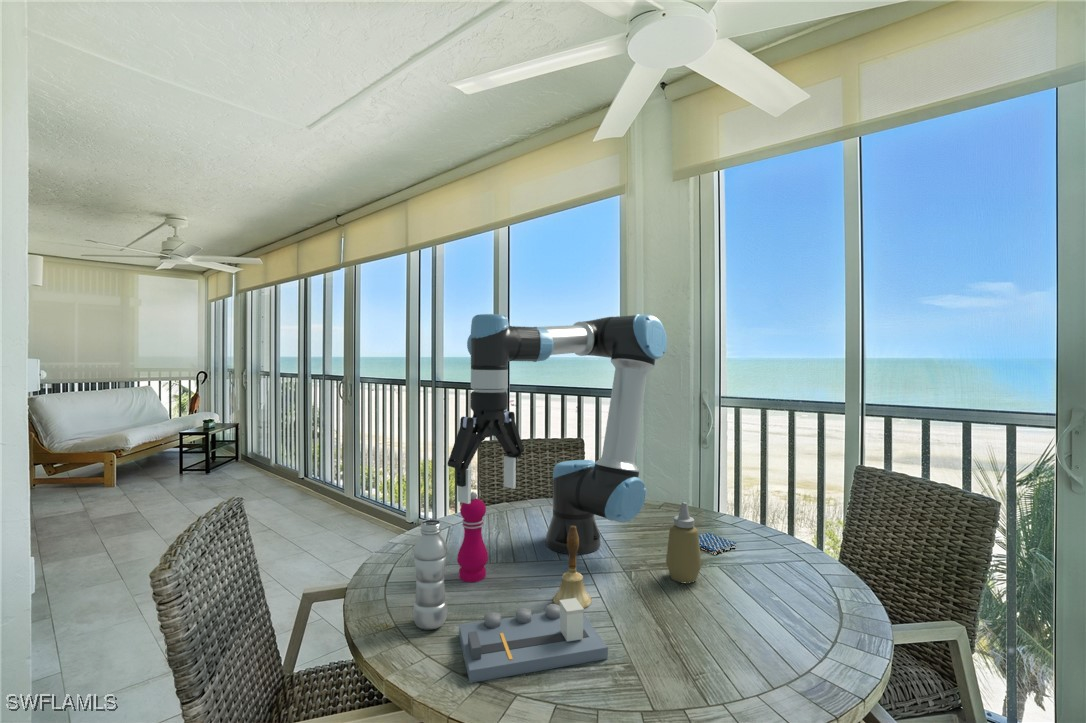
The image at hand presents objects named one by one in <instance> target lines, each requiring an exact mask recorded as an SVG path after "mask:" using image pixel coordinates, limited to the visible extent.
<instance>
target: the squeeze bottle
mask: <svg viewBox="0 0 1086 723" xmlns="http://www.w3.org/2000/svg"><path fill="white" fill-rule="evenodd" d="M689 512H690V511H689V506H688V502H685V501H684V502H681V505H680V509H679V513H678V515H675V516H674V518H673V525H671V526H670V527H669V533H668V539H667V540H668V541H667V542H668V543H667V550H666V557H665V559H666V560H665V562H666V566H667V569H668V572H669V576H670V578H671V579H672V580H673V579H674V580H673V581H675V580H676V581H675V582H677V581H678V582H677V583H680V582H686V583H685V584H690V583H689V582H693V581H695V580H696V581H697V578H698V577H699V574H700V571H701V568H702V560H701V559H702V558H701V549H700V545H699V535H700V534H699V530H698V529H697V527H695V519H694V518H693V517H692V516H690V513H689ZM696 581H695V582H696ZM693 583H694V582H693Z"/></svg>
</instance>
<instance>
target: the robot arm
mask: <svg viewBox="0 0 1086 723" xmlns="http://www.w3.org/2000/svg"><path fill="white" fill-rule="evenodd" d="M667 345H668V338H667V333H666V329H665V328H664V325H663V323H662V322H661V320H660V319H659V318H658V317H656V316H655V315H652V314H641V313H640V314H636V315H634V314H633V315H622V316H619V315H617V316H607V317H600V318H596V319H592V320H585V321H584V320H583V321H577V322H575V323H574V324H571V325H551V326H547V325H546V326H517V325H516V326H514V325H513V326H512V325H510V324H509V319H508V317H507V316H506V315H504V314H497V313H496V314H493V313H485V314H484V313H482V314H476V315H474V316H473V317H472V319H471V325H470V334H469V336H468V338H467V341H466V346H467V347H466V348H467V351H468V353H469V355H470V388H471V389H472V391H471V392H470V396H469V397H470V399H469V400H470V402H469V403H470V404H469V406H470V410H472V412H473V414H472V416H471V417H470V416H461V418H460V421H459V429H458V433H457V435H456V437H455V441H454V443H453V446H452V448H451V452H450V456H449V457H448V461H447V466H448V467H450V468H452V469H453V468H454V469H455V483H456V486H457V502H459V503H461V504H463V503H466V504H469V503H471V493H472V490H471V489H472V486H471V485H472V469H471V468H469V466H470V464H471V462H472V461H473V459H474V456H475V454H476V453H477V451H478V449H479V447H480V445H481V444H482V442H483V441H485V439H487V438H491V437H495V438H496V439H497V441H498V442H499V445H500V446H501V447H502V450H503V451H504V452H505V454H506V456H503V488H508V489H512V490H514V489H516V485H517V484H516V483H517V482H516V481H517V477H516V476H517V475H516V474H517V469H518V466H517V465H518V464H517V462H518V459H517V458H521V457H522V453H524V451H525V448H524V445H523V443H522V438H521V436H520V433H519V432H520V431H519V430H518V427H517V423H516V418H515V417H516V416H515V412H514V411H507V409H508V393H507V391H506V390H507V389H508V388H509V385H508V384H509V383H508V382H509V378H508V377H509V374H508V373H509V362H532V363H537V362H543V361H546V360H548V359H549V358H550V356H552V355H553V356H556V355H565V354H567V355H568V354H575V355H577V356H581V357H583V356H584V357H585V356H590V357H591V356H592V357H600V358H609V359H610V363H611V364H612V365H613V367H614V375H613V382H612V389H611V393H610V394H611V395H610V401H609V407H608V414H607V420H606V427H605V433H604V440H603V445H602V446H603V447H602V452H601V457H600V458H599V459H598V460H596V461H594V460H591V459H577V460H576V459H574V460H564V461H561V462H558V463H556V464H555V465H554V467H553V470H552V472H553V473H552V478H551V479H552V516H551V520H550V523H549V526H548V529H547V532H546V535H545V536H546V537H545V540H546V541H545V545H546V546H547V547H548V548H549V549H551V550H552V551H554V552H558V553H560V554H561V553H563V554H568V555H569V552H568V548H567V536H568V533H569V530H570V526H576V529H577V532H578V536H579V547H578V551H577V555H583V554H589V553H593V552H595V551H597V550H599V549H600V547H601V535H600V532H599V528H598V525H597V522H596V517H595V516H598V517H602V518H604V519H606V520H608V521H609V522H610V521H612V522H618V523H622V524H623V523H629V522H631V521H632V520H634V519H635V518H636V517H637V516H638V515H639V514H640V512H641V511H642V509H643V507H644V504H645V502H646V497H647V488H646V487H645V486H646V485H645V483H644V481H643V480H642V479H641V478H639V477H640V476H639V475H640V469H639V467H637V465H636V463H635V461H636V455H637V447H638V440H639V435H640V428H641V422H642V421H641V418H642V414H643V406H644V401H645V399H644V398H645V391H646V384H647V378H648V373H649V372H650V371H652V370H653V369H654V368H655V362H656V360H659V359H660V358H662V357H663V356H664V354H665V353H666V351H667Z"/></svg>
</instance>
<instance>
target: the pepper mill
mask: <svg viewBox="0 0 1086 723" xmlns="http://www.w3.org/2000/svg"><path fill="white" fill-rule="evenodd" d="M486 507H487V506H486V504H485V502H484V501H483V500H482V499H479V498H478V494H477V493H476V492H474V491H473V492H472V491H471V503H469V504H466V503H461V506H460V513H459V514H460V515H461V517H462V518H463V519H462V527H463V529H464V530H463V531H464V533H463V540H462V543H461V546H460V548H458V553H457V558H456V560H457V564H458V565H459V566H460V568H459V572H458V574H459V579H460V580H461V581H463V582H465V583H476V582H481V581H483V580H485V578H486V576H487V568H486V566H485V565H486V564H487V563H488V561H489V553H488V550H487V547H486V545H485V542H484V539H483V534H482V530H483V526H484V521H485V520H484V516H485V514H486V513H487V508H486Z"/></svg>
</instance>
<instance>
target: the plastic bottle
mask: <svg viewBox="0 0 1086 723" xmlns="http://www.w3.org/2000/svg"><path fill="white" fill-rule="evenodd" d="M441 531H442V528H441V521H440V520H438V519H426V520H423V521H421V524H420V534H421V536H420V537H419V538H418V539H417V541H416V542H415V544H414V548H413V553H412V554H413V561H414V566H415V568H414V569H415V582H416V584H415V586H416V587H415V598H414V603H413V607H412V608H413V610H412V617H413V622H414V623H415V625H416V626H417V628H418V629H420V630H424V631H425V630H426V631H427V630H428V631H429V630H430V631H431V630H435V629H438V628H440V627H442V626H443V625H444V623H445V622H446V621H447V618H448V604H447V598H446V588H445V575H446V574H445V572H446V563H447V556H448V555H447V554H448V547H447V543H446V542H445V540H444V538H443V537H442V536H441V535H440V533H441Z"/></svg>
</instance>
